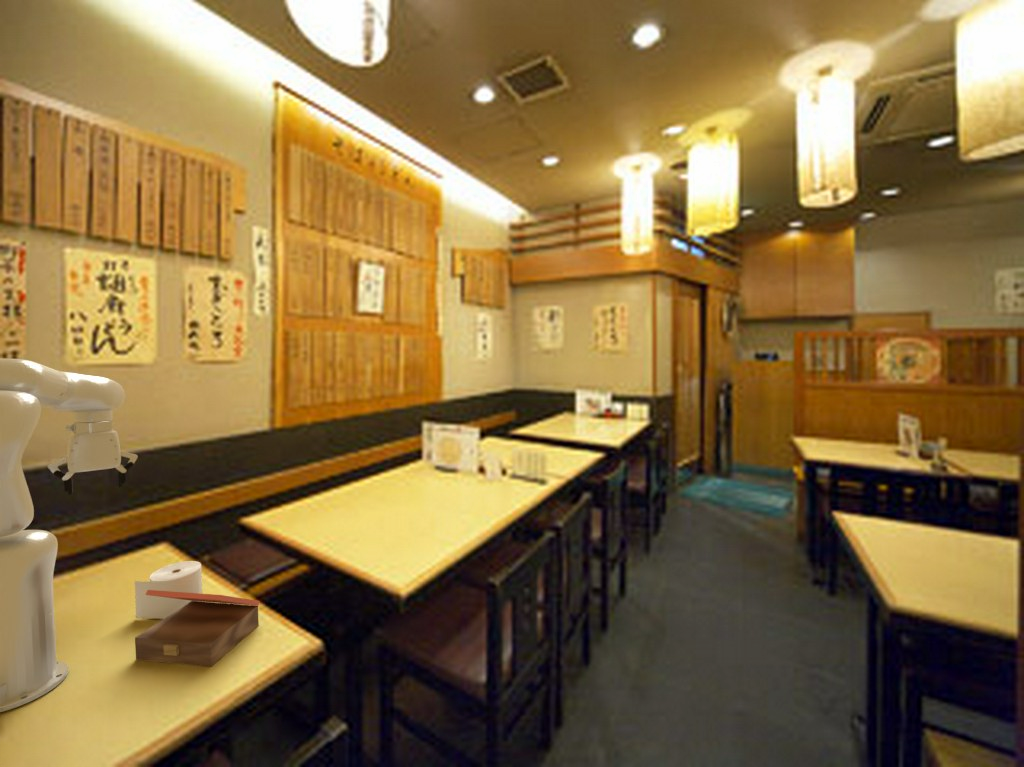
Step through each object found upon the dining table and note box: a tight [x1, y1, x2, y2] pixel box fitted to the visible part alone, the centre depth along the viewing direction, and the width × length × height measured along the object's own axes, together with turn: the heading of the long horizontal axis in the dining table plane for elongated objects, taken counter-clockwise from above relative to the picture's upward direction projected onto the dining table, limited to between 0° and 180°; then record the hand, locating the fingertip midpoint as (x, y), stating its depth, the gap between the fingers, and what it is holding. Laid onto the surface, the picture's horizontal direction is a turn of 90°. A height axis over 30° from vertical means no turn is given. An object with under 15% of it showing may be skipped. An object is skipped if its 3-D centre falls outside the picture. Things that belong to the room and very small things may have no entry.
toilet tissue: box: [134, 560, 203, 620], centre depth 109 cm, size 11×12×10 cm
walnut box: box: [134, 601, 260, 668], centre depth 96 cm, size 15×18×5 cm
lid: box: [145, 590, 260, 607], centre depth 97 cm, size 14×18×1 cm
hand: (96, 490), depth 113 cm, fingers open, 9 cm apart
